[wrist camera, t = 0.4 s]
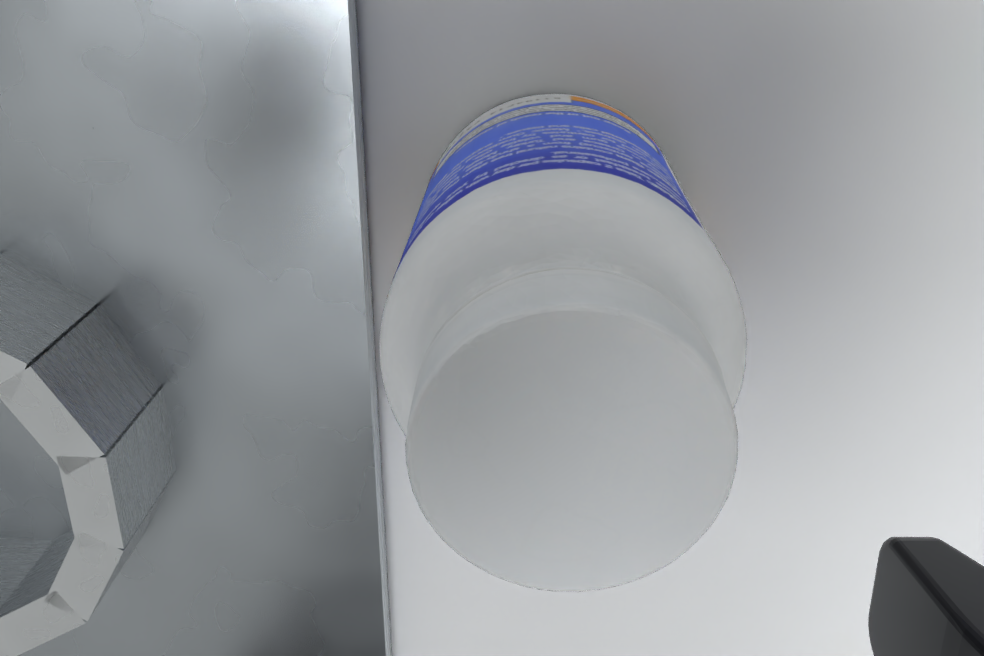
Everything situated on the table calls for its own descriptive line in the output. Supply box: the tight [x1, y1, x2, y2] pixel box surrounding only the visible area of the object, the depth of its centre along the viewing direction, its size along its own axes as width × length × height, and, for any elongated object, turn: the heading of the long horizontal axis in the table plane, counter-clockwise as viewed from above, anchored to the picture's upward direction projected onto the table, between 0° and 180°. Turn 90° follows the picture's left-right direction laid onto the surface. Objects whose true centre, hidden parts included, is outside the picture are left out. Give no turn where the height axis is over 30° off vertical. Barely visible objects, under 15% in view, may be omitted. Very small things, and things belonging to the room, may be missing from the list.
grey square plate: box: [0, 0, 392, 656], centre depth 20 cm, size 18×14×4 cm
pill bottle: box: [379, 94, 747, 592], centre depth 15 cm, size 5×5×10 cm
